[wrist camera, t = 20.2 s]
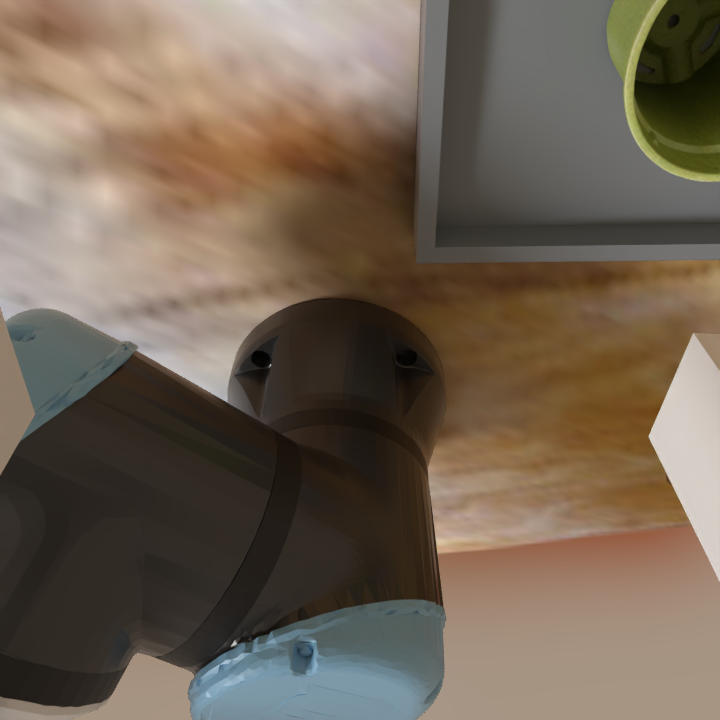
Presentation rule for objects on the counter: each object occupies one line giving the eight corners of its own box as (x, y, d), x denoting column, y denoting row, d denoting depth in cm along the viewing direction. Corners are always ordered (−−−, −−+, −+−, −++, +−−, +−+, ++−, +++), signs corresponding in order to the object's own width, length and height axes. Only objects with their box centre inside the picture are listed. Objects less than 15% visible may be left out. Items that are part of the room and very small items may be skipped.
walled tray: (814, 229, 40) (847, 258, 37) (412, 234, 40) (416, 263, 38) (1068, -348, 25) (1154, -371, 22) (432, -331, 26) (439, -351, 23)
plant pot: (643, -139, 28) (730, -132, 22) (821, -54, 30) (954, -22, 23) (536, 78, 34) (579, 139, 27) (692, 139, 36) (770, 211, 29)
